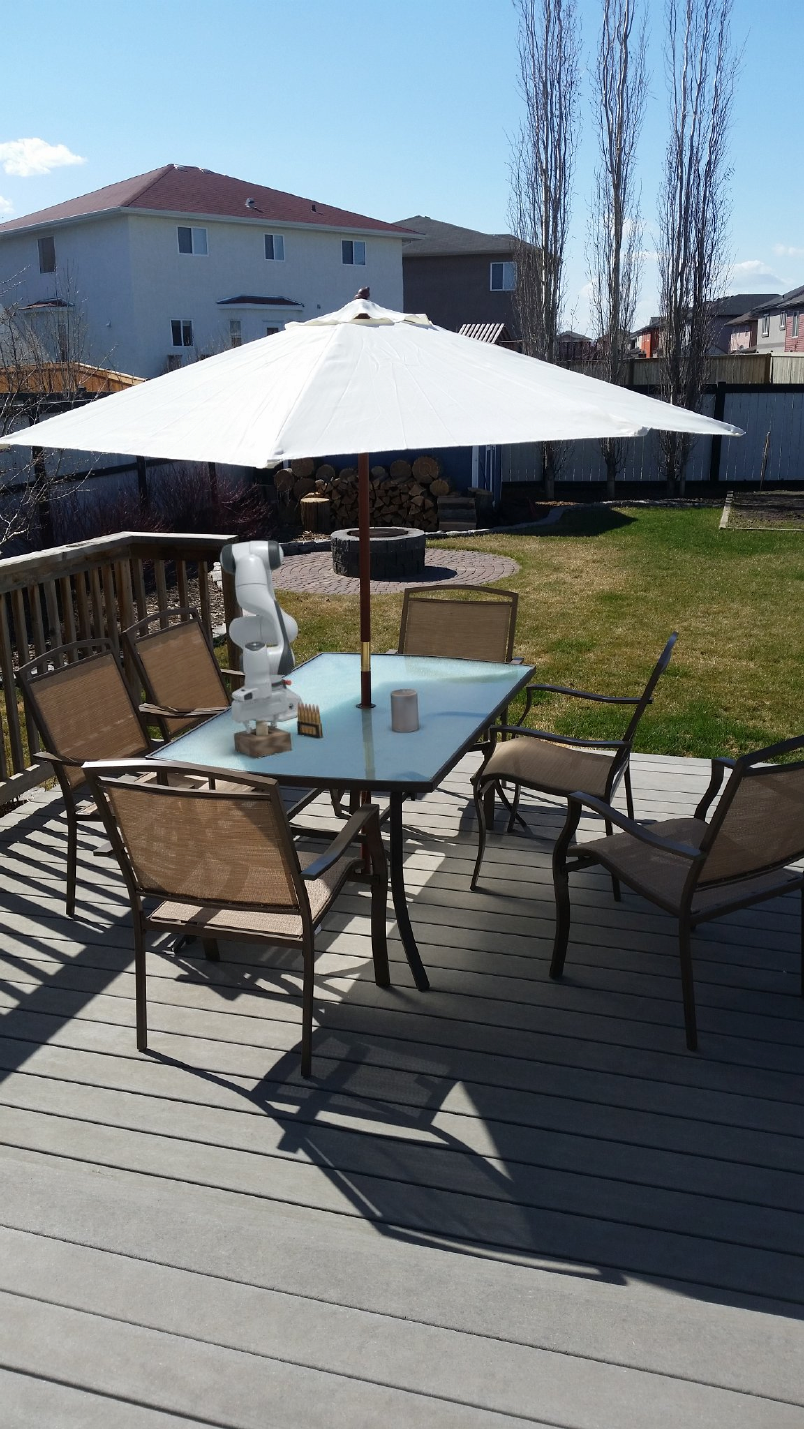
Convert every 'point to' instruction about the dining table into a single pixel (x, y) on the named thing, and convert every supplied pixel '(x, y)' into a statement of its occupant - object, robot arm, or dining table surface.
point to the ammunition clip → (309, 721)
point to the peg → (261, 728)
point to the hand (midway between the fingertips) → (261, 730)
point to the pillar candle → (404, 710)
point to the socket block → (263, 742)
